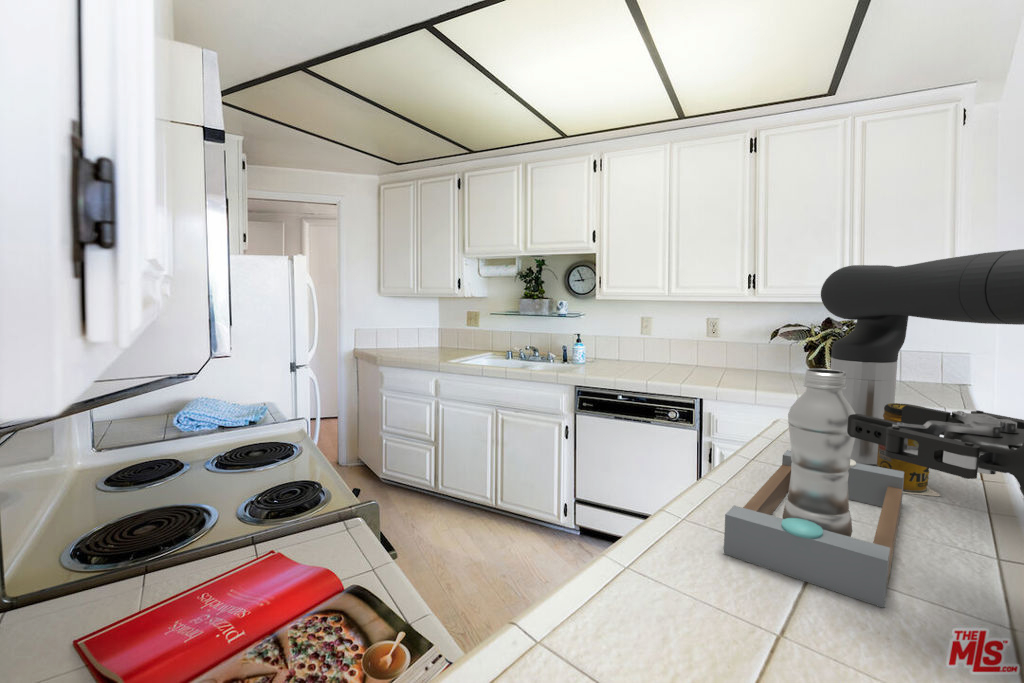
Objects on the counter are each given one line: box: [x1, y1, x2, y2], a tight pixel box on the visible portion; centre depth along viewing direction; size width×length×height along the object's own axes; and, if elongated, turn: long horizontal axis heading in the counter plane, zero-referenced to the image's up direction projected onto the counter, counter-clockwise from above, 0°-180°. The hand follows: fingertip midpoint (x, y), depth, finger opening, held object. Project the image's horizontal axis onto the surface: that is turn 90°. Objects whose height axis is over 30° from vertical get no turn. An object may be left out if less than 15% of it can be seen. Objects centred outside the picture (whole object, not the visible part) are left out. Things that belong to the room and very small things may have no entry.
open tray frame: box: [742, 464, 903, 589], centre depth 59 cm, size 14×23×3 cm, turn 138°
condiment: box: [876, 402, 941, 497], centre depth 71 cm, size 7×8×12 cm
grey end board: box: [723, 505, 890, 609], centre depth 49 cm, size 14×4×5 cm, turn 48°
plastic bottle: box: [782, 368, 855, 537], centre depth 53 cm, size 6×7×20 cm
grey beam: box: [781, 449, 904, 508], centre depth 68 cm, size 14×4×5 cm, turn 48°
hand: (877, 419), depth 48 cm, fingers open, 8 cm apart
